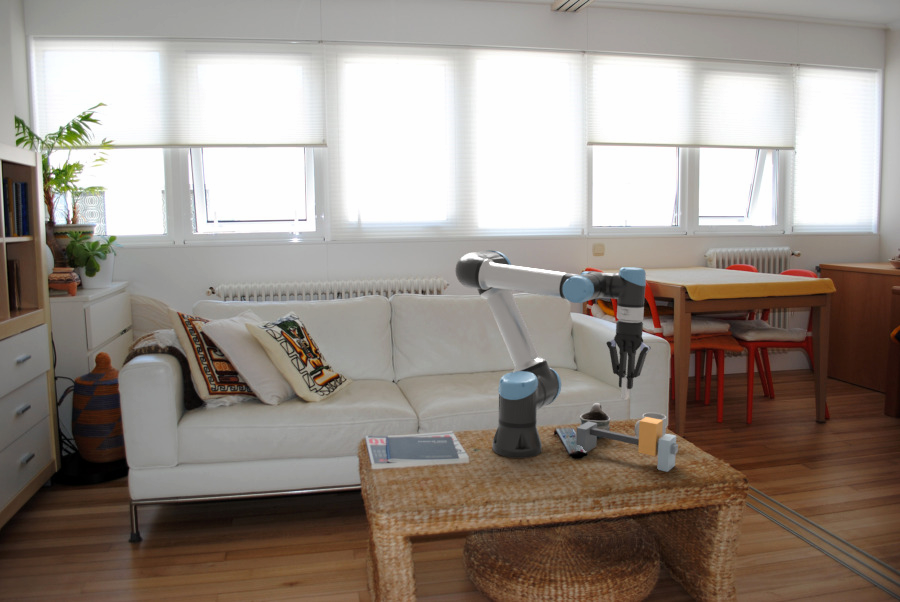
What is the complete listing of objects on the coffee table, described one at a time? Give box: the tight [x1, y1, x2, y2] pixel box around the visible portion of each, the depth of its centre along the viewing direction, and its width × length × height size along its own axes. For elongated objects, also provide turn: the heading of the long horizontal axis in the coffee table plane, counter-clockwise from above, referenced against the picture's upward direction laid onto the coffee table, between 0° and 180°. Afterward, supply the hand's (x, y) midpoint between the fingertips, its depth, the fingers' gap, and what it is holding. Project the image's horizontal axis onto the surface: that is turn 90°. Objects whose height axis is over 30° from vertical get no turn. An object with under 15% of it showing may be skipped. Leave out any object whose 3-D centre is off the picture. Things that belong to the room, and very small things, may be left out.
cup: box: [634, 412, 667, 437], centre depth 210 cm, size 7×10×9 cm
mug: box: [579, 402, 611, 440], centre depth 217 cm, size 10×12×10 cm
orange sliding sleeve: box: [637, 417, 663, 457], centre depth 192 cm, size 5×5×10 cm
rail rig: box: [575, 421, 679, 473], centre depth 197 cm, size 29×8×9 cm, turn 53°
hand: (624, 398), depth 197 cm, fingers closed
